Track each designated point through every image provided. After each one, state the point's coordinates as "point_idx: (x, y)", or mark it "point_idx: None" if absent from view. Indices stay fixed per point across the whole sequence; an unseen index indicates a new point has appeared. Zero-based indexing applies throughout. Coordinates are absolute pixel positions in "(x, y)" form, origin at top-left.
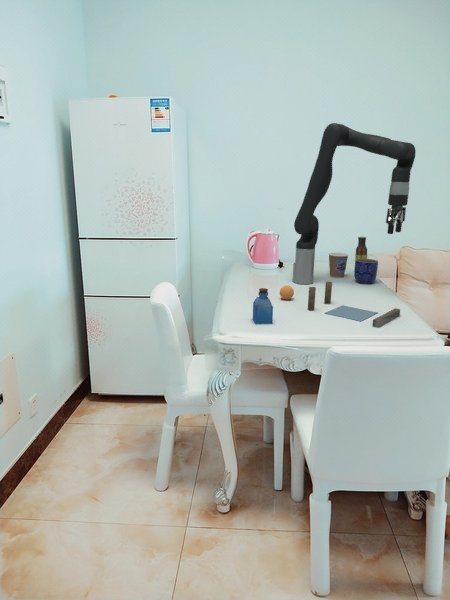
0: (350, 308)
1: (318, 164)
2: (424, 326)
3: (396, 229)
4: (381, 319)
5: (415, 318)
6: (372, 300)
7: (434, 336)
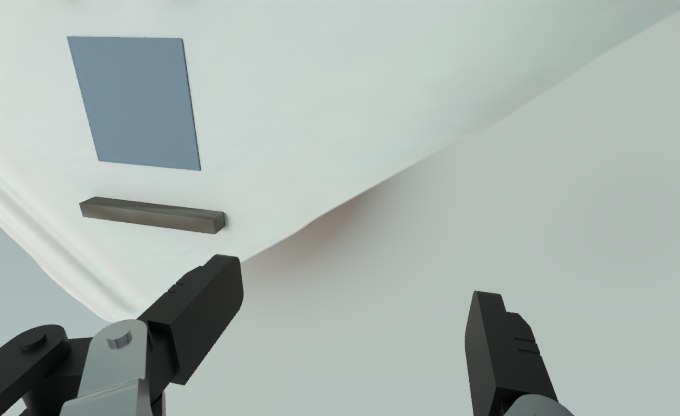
0: (170, 81)
1: None
2: None
3: (478, 319)
4: (98, 218)
5: None
6: (330, 96)
7: None
